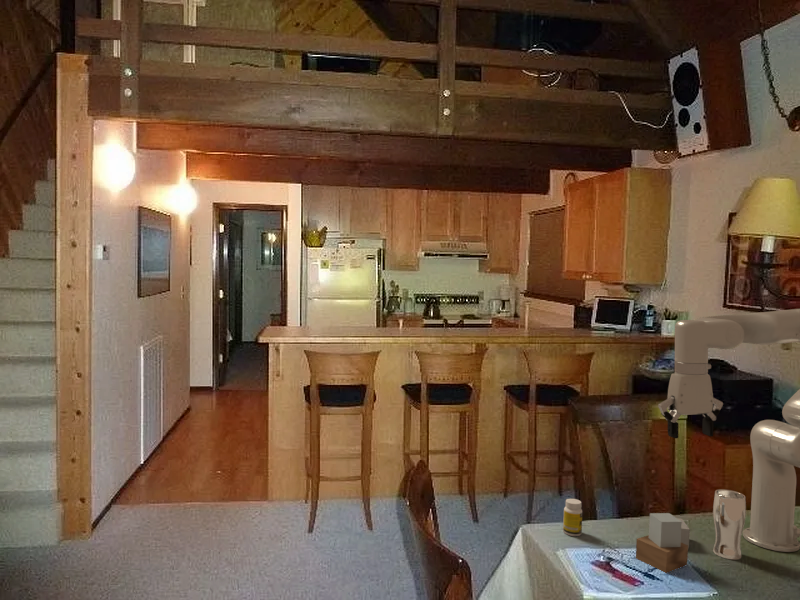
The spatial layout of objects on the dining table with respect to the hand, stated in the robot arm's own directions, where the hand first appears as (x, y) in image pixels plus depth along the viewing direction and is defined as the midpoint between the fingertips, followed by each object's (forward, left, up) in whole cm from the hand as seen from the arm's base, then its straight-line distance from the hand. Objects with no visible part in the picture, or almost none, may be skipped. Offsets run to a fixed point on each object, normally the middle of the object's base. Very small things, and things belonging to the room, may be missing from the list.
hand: (690, 436), depth 147 cm
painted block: (+11, +9, -23) cm, 27 cm away
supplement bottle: (+26, -8, -28) cm, 40 cm away
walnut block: (+12, +8, -28) cm, 32 cm away
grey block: (+2, -2, -28) cm, 28 cm away
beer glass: (-8, +6, -28) cm, 30 cm away
